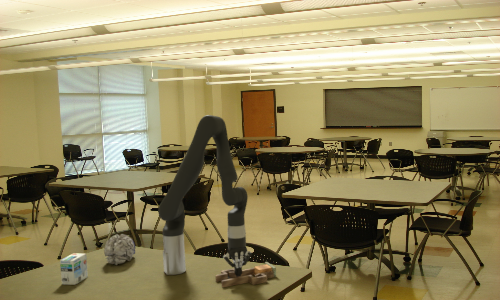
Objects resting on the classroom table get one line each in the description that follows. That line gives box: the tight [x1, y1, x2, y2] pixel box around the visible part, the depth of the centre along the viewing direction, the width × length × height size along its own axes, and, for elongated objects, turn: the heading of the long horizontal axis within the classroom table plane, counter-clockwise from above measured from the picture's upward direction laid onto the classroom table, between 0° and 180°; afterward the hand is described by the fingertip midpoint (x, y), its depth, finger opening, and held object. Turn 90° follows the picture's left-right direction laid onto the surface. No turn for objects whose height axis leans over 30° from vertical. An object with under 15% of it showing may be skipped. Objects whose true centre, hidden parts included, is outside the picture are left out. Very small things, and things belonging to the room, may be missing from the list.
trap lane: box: [214, 261, 277, 288], centre depth 197 cm, size 24×16×4 cm, turn 113°
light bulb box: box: [59, 252, 89, 286], centre depth 204 cm, size 11×7×11 cm, turn 168°
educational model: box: [103, 233, 136, 266], centre depth 228 cm, size 14×20×15 cm
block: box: [253, 264, 272, 276], centre depth 199 cm, size 6×5×4 cm
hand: (238, 275), depth 195 cm, fingers closed
